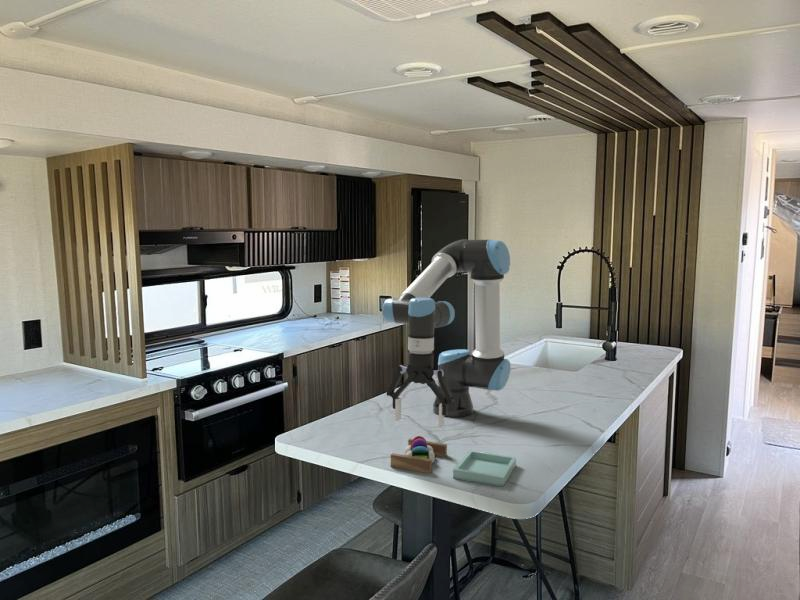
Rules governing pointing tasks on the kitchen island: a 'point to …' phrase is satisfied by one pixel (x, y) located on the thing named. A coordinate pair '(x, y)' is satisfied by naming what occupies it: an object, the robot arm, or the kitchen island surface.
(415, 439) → the rainbow disc toy
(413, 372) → the robot arm
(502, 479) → the tray
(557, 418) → the kitchen island surface
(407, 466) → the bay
